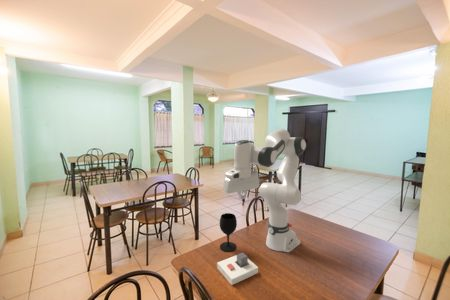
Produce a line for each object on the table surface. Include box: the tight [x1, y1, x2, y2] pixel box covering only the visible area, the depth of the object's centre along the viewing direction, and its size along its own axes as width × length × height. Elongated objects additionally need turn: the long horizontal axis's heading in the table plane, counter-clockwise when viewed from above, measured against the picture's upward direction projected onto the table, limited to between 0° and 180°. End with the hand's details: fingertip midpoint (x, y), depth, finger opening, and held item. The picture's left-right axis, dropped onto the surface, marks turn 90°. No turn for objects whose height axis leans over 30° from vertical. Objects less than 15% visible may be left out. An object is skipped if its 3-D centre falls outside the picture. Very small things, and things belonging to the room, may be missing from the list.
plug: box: [236, 252, 249, 268], centre depth 108 cm, size 4×4×7 cm
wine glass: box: [219, 212, 238, 253], centre depth 127 cm, size 10×10×20 cm
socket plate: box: [216, 254, 259, 286], centre depth 107 cm, size 16×14×4 cm
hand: (241, 198), depth 107 cm, fingers closed
